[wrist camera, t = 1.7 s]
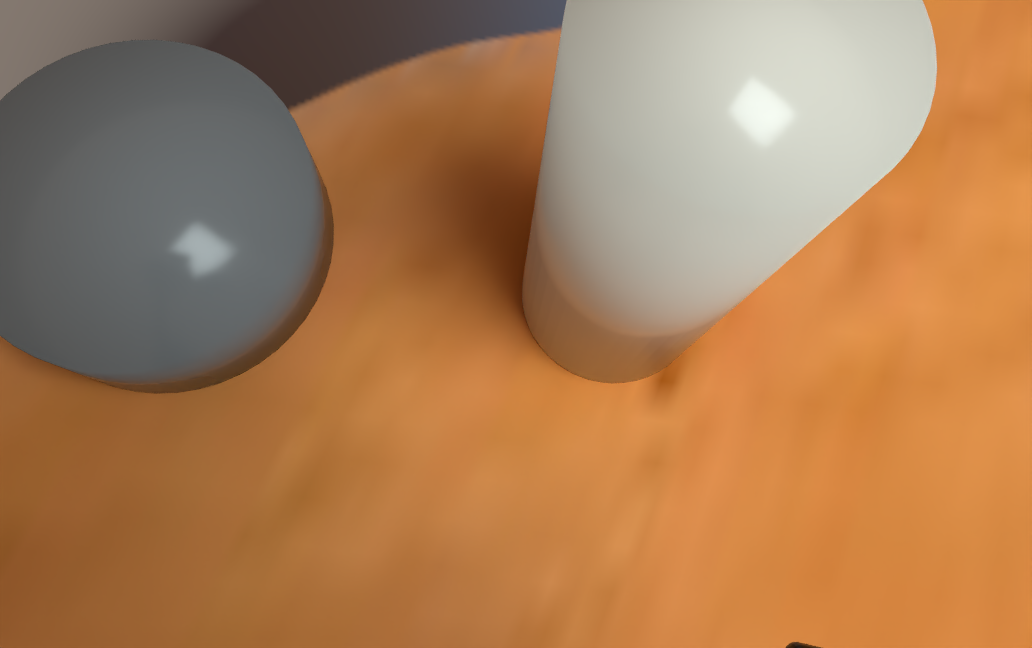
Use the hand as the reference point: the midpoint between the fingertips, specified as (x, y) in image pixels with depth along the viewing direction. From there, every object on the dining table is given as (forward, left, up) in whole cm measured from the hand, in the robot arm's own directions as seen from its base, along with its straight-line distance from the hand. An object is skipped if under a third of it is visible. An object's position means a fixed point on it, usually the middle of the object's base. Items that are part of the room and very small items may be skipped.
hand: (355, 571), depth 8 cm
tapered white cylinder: (-3, -8, -13) cm, 16 cm away
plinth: (+10, -6, -13) cm, 18 cm away
